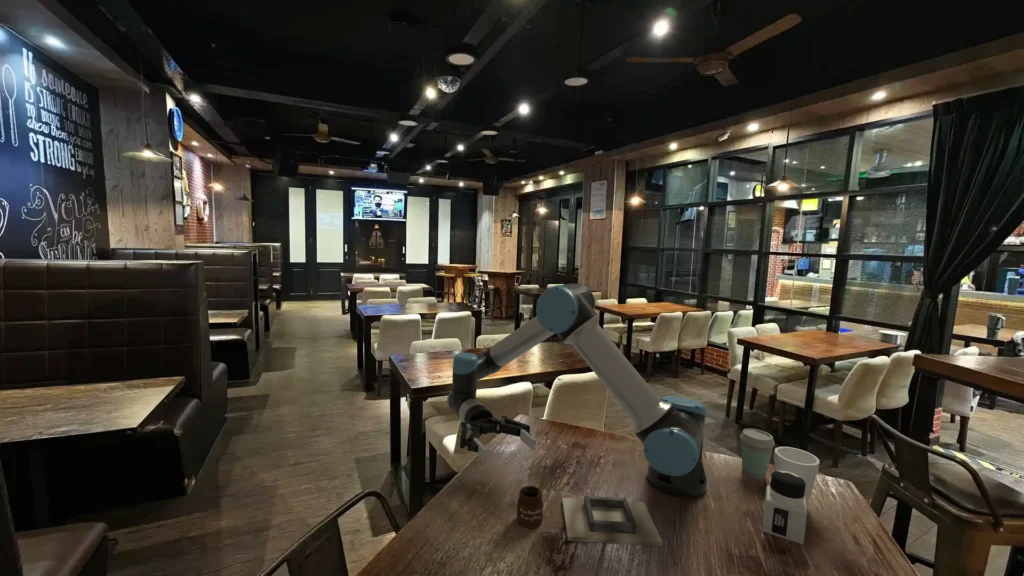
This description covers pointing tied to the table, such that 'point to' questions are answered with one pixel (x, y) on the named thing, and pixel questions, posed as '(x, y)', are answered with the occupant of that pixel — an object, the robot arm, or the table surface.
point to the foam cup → (798, 465)
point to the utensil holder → (530, 505)
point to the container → (785, 507)
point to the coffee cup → (756, 452)
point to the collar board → (609, 521)
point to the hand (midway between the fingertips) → (510, 449)
